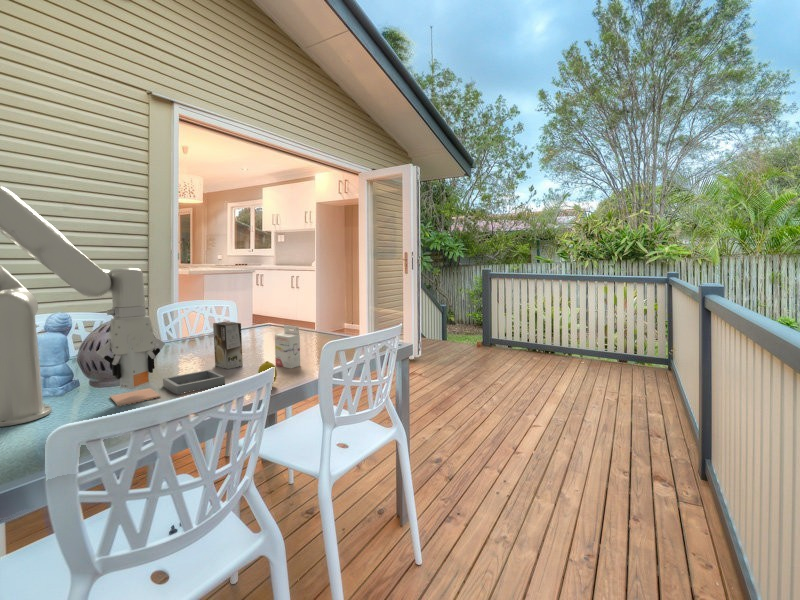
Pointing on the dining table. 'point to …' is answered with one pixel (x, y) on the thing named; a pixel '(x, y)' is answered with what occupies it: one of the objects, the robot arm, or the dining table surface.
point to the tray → (212, 381)
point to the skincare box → (134, 369)
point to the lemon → (267, 366)
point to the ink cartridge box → (288, 348)
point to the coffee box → (227, 344)
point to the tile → (134, 396)
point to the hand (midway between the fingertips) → (134, 374)
